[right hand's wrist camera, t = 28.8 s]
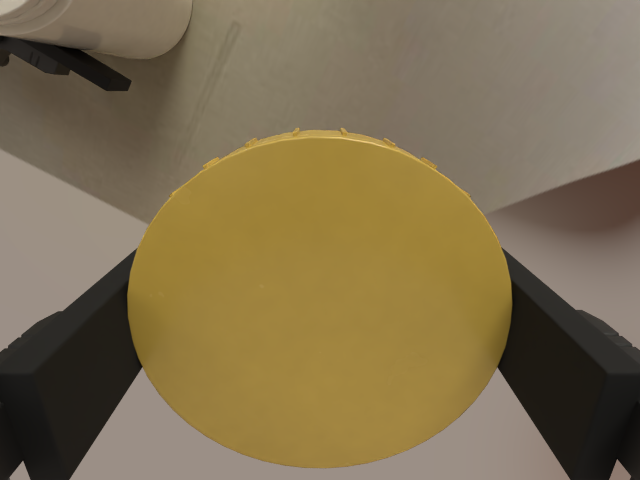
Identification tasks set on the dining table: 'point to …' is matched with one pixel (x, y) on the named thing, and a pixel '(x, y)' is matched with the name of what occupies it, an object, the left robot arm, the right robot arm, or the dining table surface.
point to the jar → (99, 24)
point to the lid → (319, 300)
